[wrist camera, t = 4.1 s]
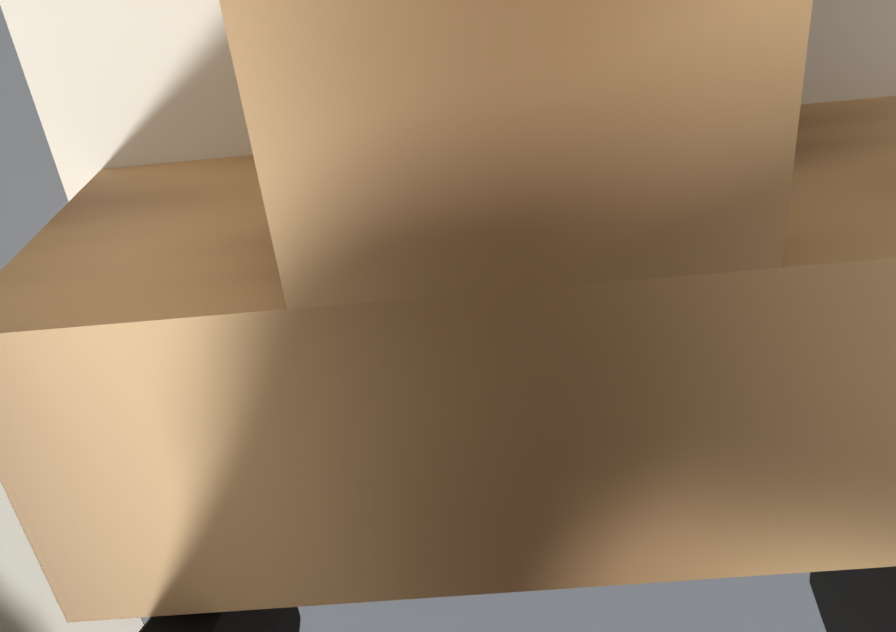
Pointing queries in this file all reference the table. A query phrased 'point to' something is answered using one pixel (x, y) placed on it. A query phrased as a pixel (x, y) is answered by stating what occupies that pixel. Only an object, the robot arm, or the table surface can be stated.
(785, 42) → the T block
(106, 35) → the T board
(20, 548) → the table surface
